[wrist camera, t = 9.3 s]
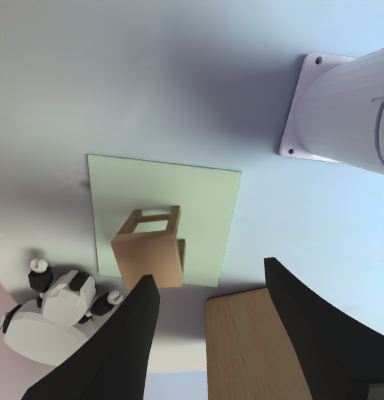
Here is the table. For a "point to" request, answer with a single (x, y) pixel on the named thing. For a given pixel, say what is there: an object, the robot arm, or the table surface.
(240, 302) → the wooden block
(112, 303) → the robot toy
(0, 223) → the table surface
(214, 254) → the sage mat
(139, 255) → the brown handled box
